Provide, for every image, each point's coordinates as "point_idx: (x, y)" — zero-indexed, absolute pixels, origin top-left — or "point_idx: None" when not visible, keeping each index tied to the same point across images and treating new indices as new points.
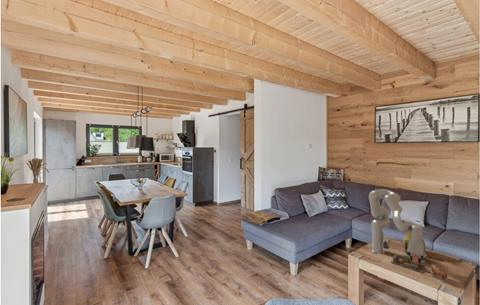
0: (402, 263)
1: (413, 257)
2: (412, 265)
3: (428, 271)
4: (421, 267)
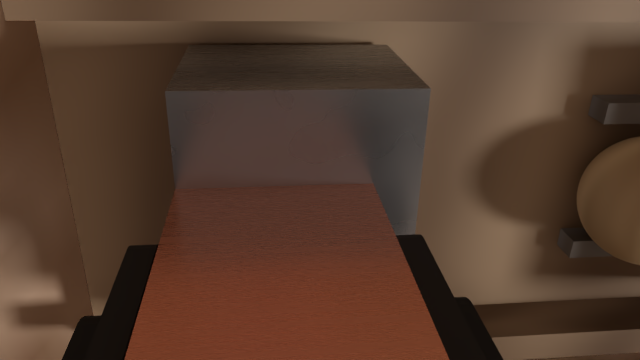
0: (575, 189)
1: (387, 354)
2: (338, 70)
3: (23, 277)
4: None
